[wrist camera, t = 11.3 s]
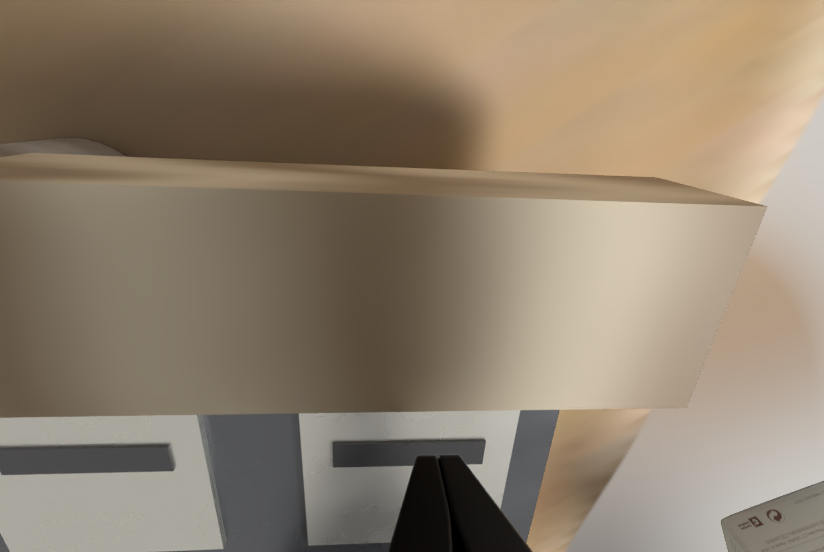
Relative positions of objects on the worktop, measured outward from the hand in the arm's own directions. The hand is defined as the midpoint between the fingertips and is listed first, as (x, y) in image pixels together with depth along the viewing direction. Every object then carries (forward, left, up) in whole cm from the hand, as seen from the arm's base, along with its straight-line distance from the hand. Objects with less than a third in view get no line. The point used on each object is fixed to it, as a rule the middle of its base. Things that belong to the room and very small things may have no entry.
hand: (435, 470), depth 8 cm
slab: (-5, +5, -8) cm, 10 cm away
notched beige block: (+3, +3, -7) cm, 9 cm away
